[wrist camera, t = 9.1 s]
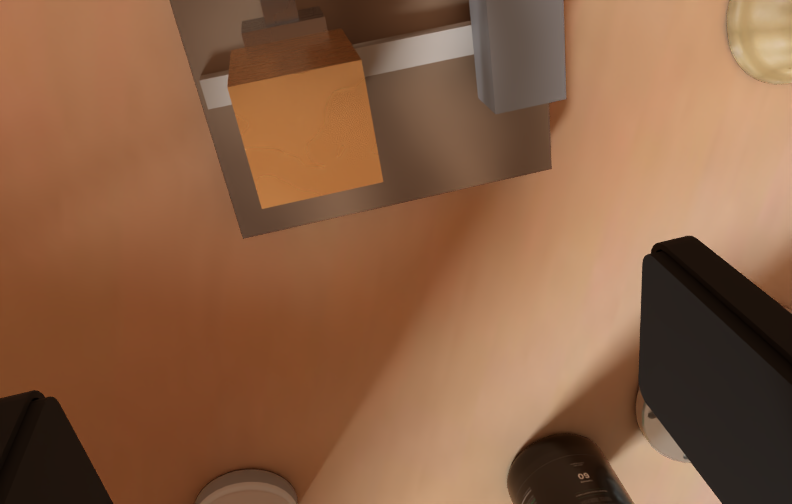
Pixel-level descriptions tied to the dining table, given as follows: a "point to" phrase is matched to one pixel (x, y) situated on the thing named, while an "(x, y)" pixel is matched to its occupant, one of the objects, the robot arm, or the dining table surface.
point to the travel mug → (248, 489)
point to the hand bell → (762, 38)
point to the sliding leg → (301, 106)
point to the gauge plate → (403, 95)
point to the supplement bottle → (564, 474)
